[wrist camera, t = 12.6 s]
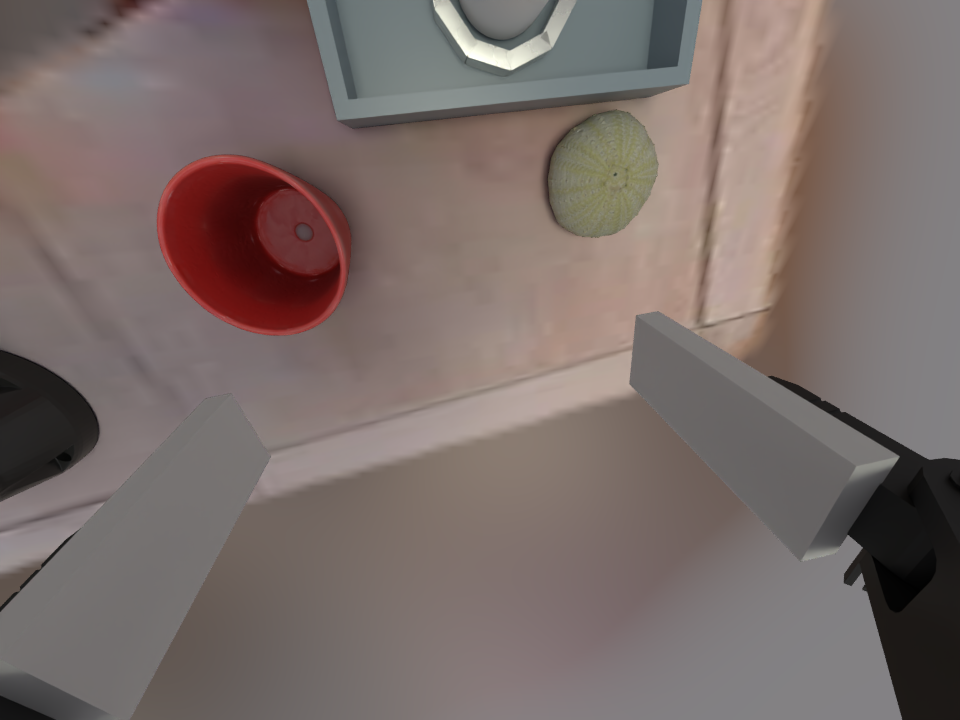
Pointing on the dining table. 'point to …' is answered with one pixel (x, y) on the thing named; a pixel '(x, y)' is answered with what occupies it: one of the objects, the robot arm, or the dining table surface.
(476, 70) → the walled box
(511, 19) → the beverage can
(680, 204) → the dining table surface
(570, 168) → the sea urchin shell
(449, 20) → the inlet ring
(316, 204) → the flower pot
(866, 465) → the robot arm
